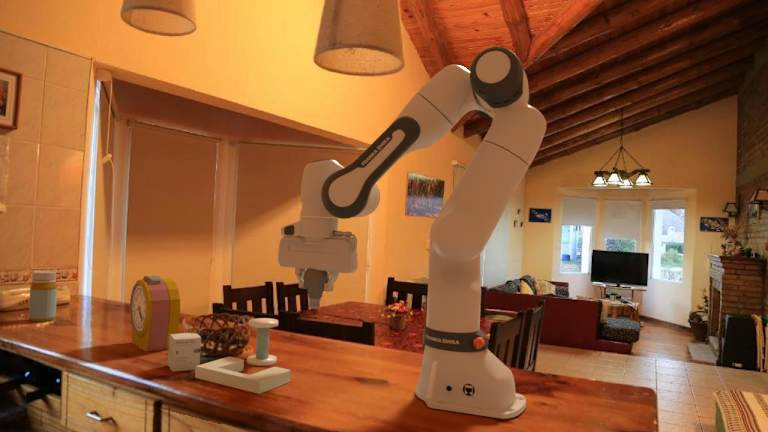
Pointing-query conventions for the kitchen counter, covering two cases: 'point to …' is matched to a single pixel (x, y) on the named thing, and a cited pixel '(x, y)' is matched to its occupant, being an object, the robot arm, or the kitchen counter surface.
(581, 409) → the kitchen counter surface
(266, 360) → the bobbin
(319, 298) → the light bulb
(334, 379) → the kitchen counter surface
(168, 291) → the alarm clock
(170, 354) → the skincare box
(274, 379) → the notched board
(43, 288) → the bottle
